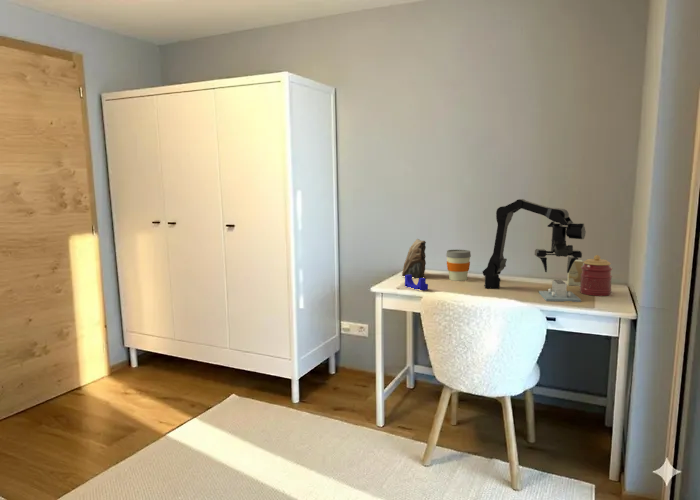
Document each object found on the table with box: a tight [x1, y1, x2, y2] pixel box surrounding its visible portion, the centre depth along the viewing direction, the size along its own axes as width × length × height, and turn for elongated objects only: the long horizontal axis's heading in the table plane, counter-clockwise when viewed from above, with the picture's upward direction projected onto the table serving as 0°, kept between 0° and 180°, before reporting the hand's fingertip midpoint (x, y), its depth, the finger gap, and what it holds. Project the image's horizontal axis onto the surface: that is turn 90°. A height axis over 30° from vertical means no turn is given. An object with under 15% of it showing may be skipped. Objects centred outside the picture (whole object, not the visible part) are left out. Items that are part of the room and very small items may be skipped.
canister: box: [579, 254, 613, 297], centre depth 232 cm, size 13×13×18 cm
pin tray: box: [538, 288, 582, 303], centre depth 226 cm, size 14×16×3 cm
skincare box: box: [566, 259, 584, 287], centre depth 251 cm, size 6×4×12 cm
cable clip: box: [404, 275, 429, 291], centre depth 247 cm, size 12×4×6 cm, turn 32°
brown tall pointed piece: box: [401, 238, 427, 279], centre depth 276 cm, size 13×13×20 cm
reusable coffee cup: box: [445, 249, 472, 282], centre depth 268 cm, size 13×13×15 cm
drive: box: [551, 279, 568, 297], centre depth 225 cm, size 4×9×6 cm, turn 171°
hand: (556, 272), depth 227 cm, fingers open, 9 cm apart
